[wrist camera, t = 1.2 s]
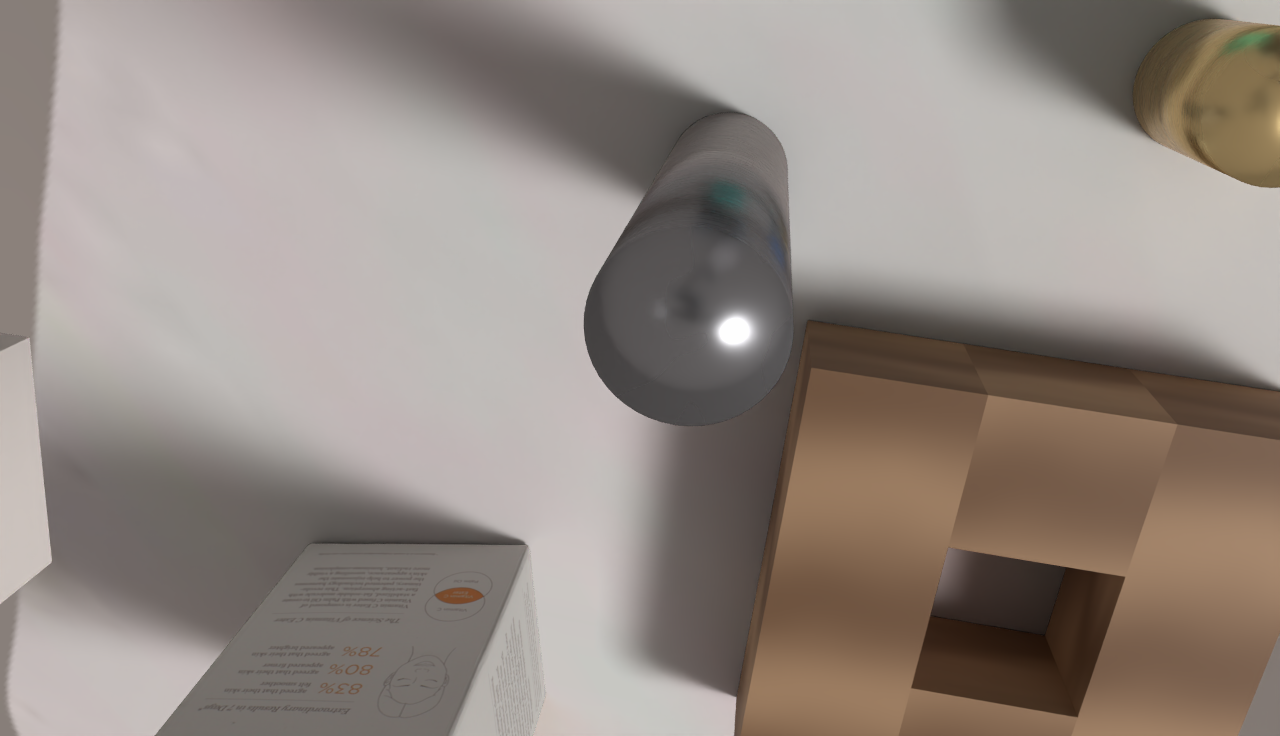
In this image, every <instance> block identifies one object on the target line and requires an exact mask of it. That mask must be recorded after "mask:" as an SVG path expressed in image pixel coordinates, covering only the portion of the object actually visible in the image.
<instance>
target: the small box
mask: <svg viewBox="0 0 1280 736" xmlns="http://www.w3.org/2000/svg"><path fill="white" fill-rule="evenodd" d="M545 694H546V692H545V683H544V674H543V666H542V657H541V647H540V639H539V630H538V621H537V612H536V603H535V593H534V584H533V575H532V565H531V555H530V549H529V547H528V546H527V545H469V544H309V545H308V546H307V547H306V549H305V550H304V551H303V552H302V554H301V555H300V556H299V557H298V558H297V560H296V561H295V562H294V563H293V565H292V566H291V567H290V568H289V570H288V571H287V572H286V573H285V575H284V576H283V577H282V578H281V580H280V581H279V582H278V583H277V585H276V586H275V587H274V588H273V589H272V591H271V592H270V593H269V594H268V596H267V597H266V598H265V599H264V601H263V602H262V603H261V604H260V606H259V607H258V608H257V609H256V611H255V612H254V613H253V614H252V615H251V617H250V618H249V619H248V620H247V622H246V623H245V624H244V625H243V627H242V628H241V629H240V630H239V632H238V633H237V634H236V635H235V637H234V638H233V639H232V640H231V642H230V643H229V644H228V645H227V647H226V648H225V649H224V650H223V652H222V653H221V654H220V655H219V657H218V658H217V659H216V660H215V661H214V663H213V664H212V665H211V667H210V668H209V669H208V670H207V672H206V673H205V674H204V675H203V676H202V678H201V679H200V680H199V681H198V683H197V684H196V685H195V686H194V688H193V689H192V690H191V691H190V693H189V694H188V695H187V696H186V698H185V699H184V700H183V701H182V703H181V704H180V705H179V706H178V708H177V709H176V710H175V711H174V712H173V714H172V715H171V716H170V717H169V719H168V720H167V721H166V722H165V724H164V725H163V726H162V727H161V729H160V730H159V731H158V732H157V734H156V735H155V736H533V734H534V731H535V728H536V725H537V722H538V718H539V715H540V712H541V709H542V706H543V702H544V699H545Z"/></svg>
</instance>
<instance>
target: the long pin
mask: <svg viewBox="0 0 1280 736" xmlns="http://www.w3.org/2000/svg"><path fill="white" fill-rule="evenodd" d="M584 334H585V342H586V346H587V350H588V353H589V356H590V359H591V361H592V364H593V366H594V368H595V370H596V371H597V373H598V375H599V377H600V378H601V379H602V381H603V382H604V384H605V385H606V386H607V387H608V389H609V390H610V391H611V392H612V393H613V394H614V395H615V396H616V397H617V398H618V399H620V400H621V401H622V402H623V403H624V404H626V405H627V406H629V407H630V408H632V409H633V410H635V411H636V412H638V413H640V414H642V415H644V416H646V417H648V418H651V419H654V420H657V421H660V422H664V423H668V424H673V425H682V426H702V425H709V424H715V423H719V422H722V421H726V420H728V419H731V418H733V417H736V416H738V415H740V414H742V413H744V412H745V411H747V410H749V409H750V408H752V407H753V406H754V405H756V404H757V403H758V402H760V401H761V400H762V399H763V398H764V397H765V396H766V395H767V394H768V393H769V392H770V391H771V389H772V388H773V387H774V386H775V384H776V383H777V382H778V380H779V378H780V377H781V375H782V373H783V371H784V369H785V367H786V364H787V362H788V360H789V356H790V352H791V348H792V343H793V334H794V330H793V300H792V273H791V246H790V219H789V192H788V166H787V159H786V155H785V152H784V149H783V147H782V145H781V143H780V141H779V140H778V138H777V137H776V135H775V134H774V133H773V132H772V131H771V130H770V129H769V128H768V127H767V126H766V125H765V124H763V123H762V122H760V121H759V120H757V119H755V118H753V117H751V116H748V115H745V114H740V113H733V112H725V113H717V114H713V115H710V116H707V117H704V118H702V119H700V120H698V121H697V122H695V123H694V124H692V125H691V126H690V127H689V128H688V129H687V130H686V131H685V132H684V133H683V134H682V135H681V137H680V138H679V140H678V141H677V143H676V144H675V146H674V148H673V149H672V151H671V153H670V154H669V156H668V158H667V159H666V161H665V163H664V164H663V166H662V168H661V169H660V171H659V173H658V174H657V176H656V178H655V179H654V181H653V183H652V184H651V186H650V188H649V189H648V191H647V193H646V194H645V196H644V198H643V199H642V201H641V203H640V204H639V206H638V208H637V209H636V211H635V213H634V214H633V216H632V218H631V220H630V221H629V223H628V225H627V226H626V228H625V230H624V231H623V233H622V235H621V236H620V238H619V240H618V241H617V243H616V245H615V246H614V248H613V250H612V251H611V253H610V255H609V256H608V258H607V260H606V261H605V263H604V265H603V266H602V268H601V270H600V271H599V273H598V275H597V276H596V278H595V280H594V282H593V284H592V287H591V289H590V292H589V295H588V298H587V301H586V307H585V312H584Z"/></svg>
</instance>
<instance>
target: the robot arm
mask: <svg viewBox="0 0 1280 736" xmlns="http://www.w3.org/2000/svg"><path fill="white" fill-rule="evenodd" d="M51 562H52V557H51V547H50V537H49V527H48V517H47V507H46V497H45V488H44V478H43V468H42V458H41V448H40V438H39V428H38V418H37V408H36V398H35V388H34V378H33V368H32V358H31V348H30V339H29V337H24V336H18V335H12V334H5V333H0V603H2V602H3V601H4V600H6V599H7V598H8V597H9V596H11V595H12V594H13V593H14V592H16V591H17V590H18V589H19V588H21V587H22V586H23V585H24V584H25V583H27V582H28V581H29V580H30V579H32V578H33V577H34V576H35V575H37V574H38V573H39V572H40V571H42V570H43V569H44V568H45V567H47V566H48V565H49V564H50V563H51ZM1238 736H1280V634H1279V637H1278V639H1277V641H1276V644H1275V646H1274V649H1273V651H1272V654H1271V656H1270V659H1269V661H1268V663H1267V666H1266V668H1265V671H1264V673H1263V676H1262V678H1261V681H1260V683H1259V686H1258V688H1257V690H1256V693H1255V695H1254V698H1253V700H1252V703H1251V705H1250V708H1249V710H1248V712H1247V715H1246V717H1245V720H1244V722H1243V725H1242V727H1241V730H1240V732H1239V734H1238Z"/></svg>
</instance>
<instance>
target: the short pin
mask: <svg viewBox="0 0 1280 736" xmlns="http://www.w3.org/2000/svg"><path fill="white" fill-rule="evenodd" d="M1133 104H1134V110H1135V113H1136V116H1137V119H1138V121H1139V123H1140V125H1141V126H1142V128H1143V129H1144V131H1145V132H1146V133H1147V134H1148V135H1149V136H1150V137H1151V138H1152V139H1154V140H1155V141H1156V142H1158V143H1159V144H1161V145H1163V146H1165V147H1167V148H1170V149H1172V150H1174V151H1176V152H1178V153H1180V154H1183V155H1185V156H1187V157H1189V158H1191V159H1194V160H1196V161H1198V162H1200V163H1202V164H1204V165H1207V166H1209V167H1211V168H1213V169H1215V170H1217V171H1220V172H1222V173H1224V174H1226V175H1228V176H1231V177H1233V178H1235V179H1237V180H1239V181H1241V182H1244V183H1247V184H1250V185H1254V186H1259V187H1268V188H1277V187H1280V26H1277V25H1268V24H1259V23H1251V22H1242V21H1233V20H1225V19H1203V20H1198V21H1194V22H1191V23H1188V24H1185V25H1183V26H1180V27H1178V28H1176V29H1175V30H1173V31H1171V32H1170V33H1168V34H1167V35H1166V36H1164V37H1163V38H1162V39H1160V40H1159V41H1158V42H1157V43H1156V44H1155V45H1154V46H1153V48H1152V49H1151V50H1150V51H1149V52H1148V54H1147V55H1146V57H1145V58H1144V60H1143V61H1142V63H1141V65H1140V67H1139V70H1138V72H1137V75H1136V78H1135V83H1134V88H1133Z"/></svg>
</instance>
